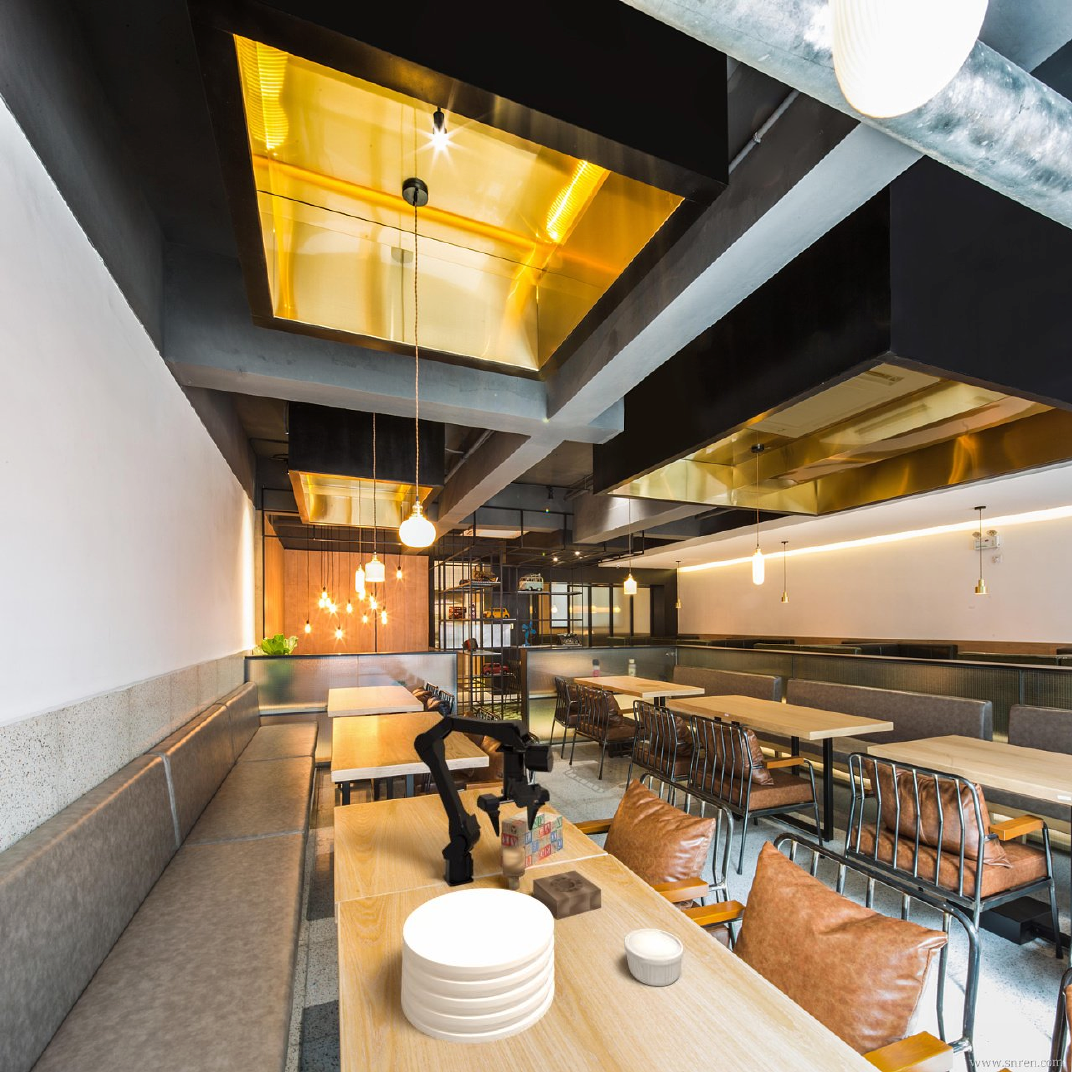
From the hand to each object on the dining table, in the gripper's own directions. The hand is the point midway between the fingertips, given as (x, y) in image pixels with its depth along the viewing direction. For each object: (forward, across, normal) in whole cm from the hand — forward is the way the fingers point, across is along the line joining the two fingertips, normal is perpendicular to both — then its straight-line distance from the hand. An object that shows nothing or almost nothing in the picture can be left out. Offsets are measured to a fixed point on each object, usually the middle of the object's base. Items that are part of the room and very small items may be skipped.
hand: (514, 833), depth 149 cm
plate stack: (+13, -23, -34) cm, 43 cm away
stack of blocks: (+13, +13, +15) cm, 24 cm away
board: (+13, +8, -13) cm, 20 cm away
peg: (+13, 0, 0) cm, 13 cm away
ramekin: (+14, +8, -45) cm, 48 cm away
